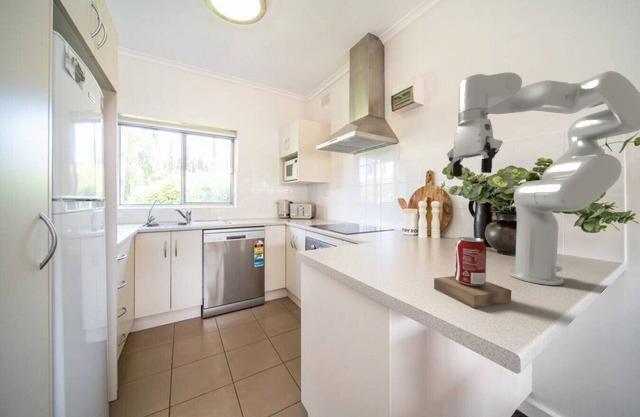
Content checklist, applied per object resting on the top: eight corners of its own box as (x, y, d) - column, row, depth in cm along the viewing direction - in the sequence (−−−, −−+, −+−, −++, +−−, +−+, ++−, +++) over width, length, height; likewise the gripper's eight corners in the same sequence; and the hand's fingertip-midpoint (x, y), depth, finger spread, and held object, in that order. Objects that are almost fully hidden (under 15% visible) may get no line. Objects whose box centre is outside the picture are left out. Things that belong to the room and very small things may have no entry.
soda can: (490, 289, 55) (492, 241, 54) (460, 287, 56) (462, 240, 56) (477, 279, 62) (478, 237, 61) (450, 278, 63) (451, 236, 62)
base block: (466, 284, 66) (466, 274, 66) (511, 302, 55) (511, 290, 55) (434, 288, 63) (434, 278, 63) (473, 308, 51) (474, 295, 51)
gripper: (512, 109, 61) (509, 171, 62) (457, 129, 78) (456, 177, 78) (491, 106, 59) (489, 170, 60) (440, 127, 76) (439, 177, 76)
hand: (470, 174), depth 69 cm, fingers open, 9 cm apart
